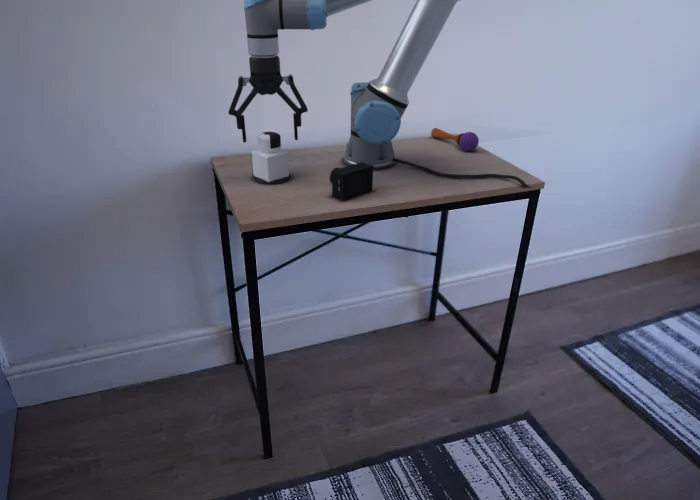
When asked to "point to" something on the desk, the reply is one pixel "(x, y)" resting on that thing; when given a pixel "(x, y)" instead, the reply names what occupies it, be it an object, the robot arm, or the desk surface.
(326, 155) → the desk surface
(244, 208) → the desk surface
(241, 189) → the desk surface
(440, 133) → the maraca
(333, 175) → the digital camera
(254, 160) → the medicine bottle
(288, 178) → the coaster
